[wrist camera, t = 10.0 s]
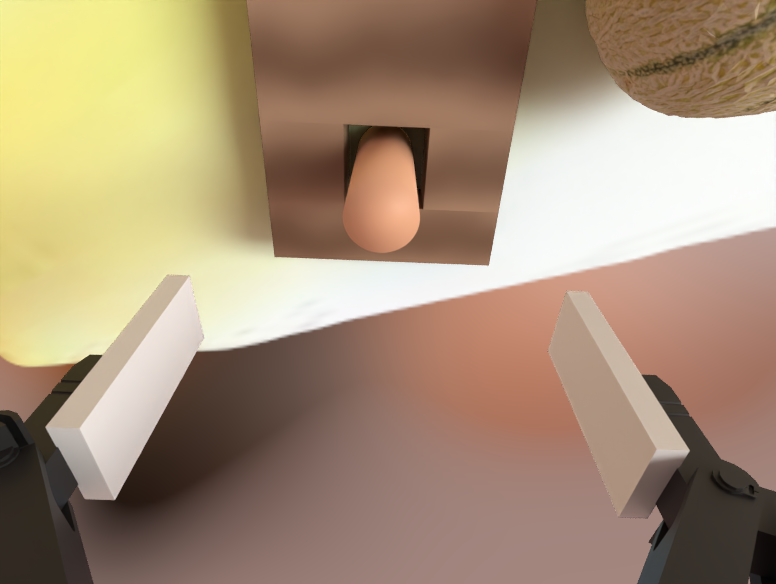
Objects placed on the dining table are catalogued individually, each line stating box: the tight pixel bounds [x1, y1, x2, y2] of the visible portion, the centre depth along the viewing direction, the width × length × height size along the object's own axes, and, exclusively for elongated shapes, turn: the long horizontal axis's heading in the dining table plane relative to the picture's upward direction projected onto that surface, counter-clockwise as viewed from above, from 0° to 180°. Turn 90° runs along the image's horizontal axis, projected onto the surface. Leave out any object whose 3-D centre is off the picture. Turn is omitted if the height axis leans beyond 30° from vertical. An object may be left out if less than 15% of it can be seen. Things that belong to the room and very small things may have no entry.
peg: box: [343, 126, 420, 253], centre depth 29 cm, size 4×4×12 cm
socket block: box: [247, 0, 537, 265], centre depth 31 cm, size 18×16×4 cm
